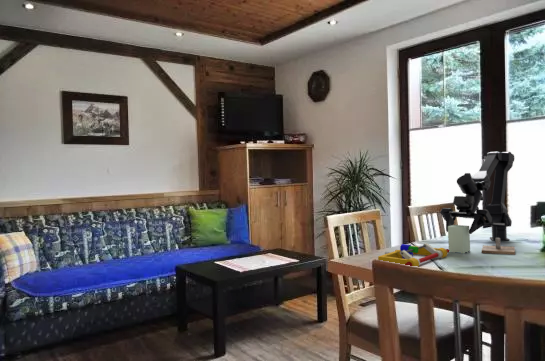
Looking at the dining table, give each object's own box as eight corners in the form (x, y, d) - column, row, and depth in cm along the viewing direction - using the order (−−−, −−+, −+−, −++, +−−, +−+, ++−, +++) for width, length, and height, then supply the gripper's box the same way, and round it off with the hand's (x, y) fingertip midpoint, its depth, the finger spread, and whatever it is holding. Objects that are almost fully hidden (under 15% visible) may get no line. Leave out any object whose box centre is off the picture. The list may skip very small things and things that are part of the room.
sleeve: (455, 249, 168) (454, 224, 168) (470, 251, 163) (469, 225, 163) (448, 251, 165) (447, 226, 165) (463, 253, 160) (462, 227, 160)
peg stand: (483, 247, 169) (482, 235, 169) (514, 249, 164) (514, 236, 164) (481, 253, 159) (481, 239, 159) (515, 254, 154) (514, 240, 154)
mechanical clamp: (451, 239, 159) (412, 253, 138) (452, 256, 159) (413, 272, 138) (407, 236, 172) (365, 247, 152) (407, 251, 172) (365, 264, 152)
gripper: (441, 188, 174) (427, 217, 167) (487, 188, 159) (474, 220, 153) (452, 206, 179) (439, 235, 172) (497, 207, 164) (485, 239, 158)
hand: (458, 232), depth 164 cm, fingers open, 9 cm apart
